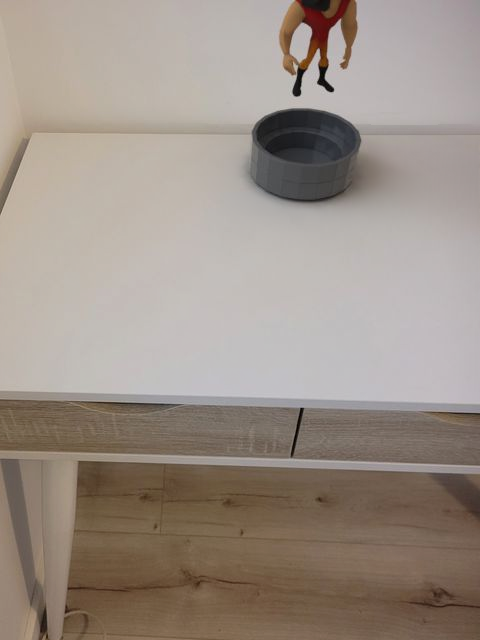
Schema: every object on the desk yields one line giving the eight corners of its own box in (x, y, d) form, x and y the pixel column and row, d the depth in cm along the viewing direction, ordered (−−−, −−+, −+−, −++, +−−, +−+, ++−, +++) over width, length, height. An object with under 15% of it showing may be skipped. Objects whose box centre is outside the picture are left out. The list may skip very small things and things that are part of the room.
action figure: (279, 102, 74) (295, -36, 62) (270, 87, 76) (285, -49, 64) (352, 92, 75) (383, -45, 63) (342, 78, 77) (369, -58, 65)
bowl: (282, 133, 91) (287, 97, 87) (370, 165, 85) (379, 129, 81) (229, 178, 84) (231, 142, 80) (320, 216, 78) (327, 179, 74)
